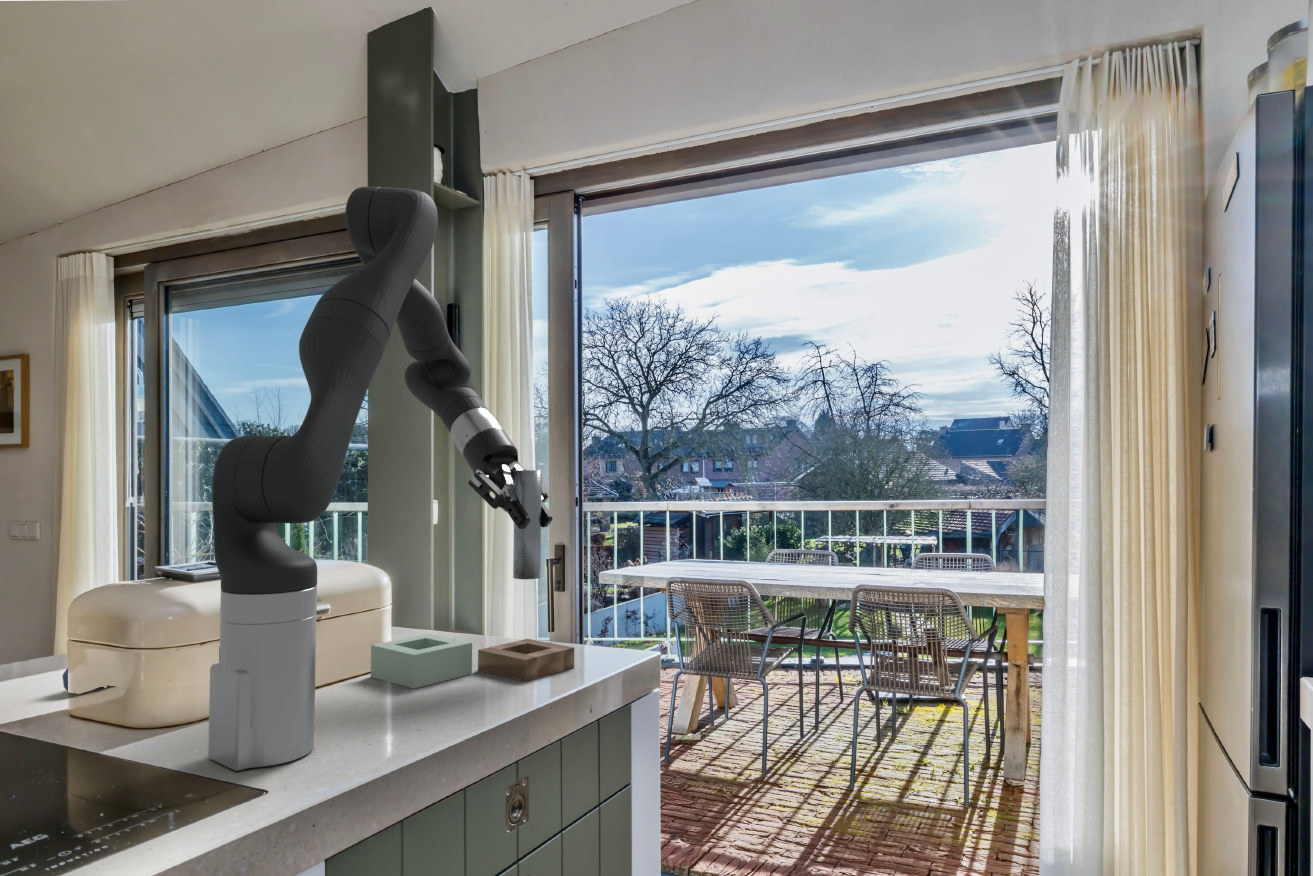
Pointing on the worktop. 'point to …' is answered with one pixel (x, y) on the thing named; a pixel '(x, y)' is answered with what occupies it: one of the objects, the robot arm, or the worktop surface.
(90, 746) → the worktop surface
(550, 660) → the walnut socket
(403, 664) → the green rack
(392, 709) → the worktop surface
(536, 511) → the ball
